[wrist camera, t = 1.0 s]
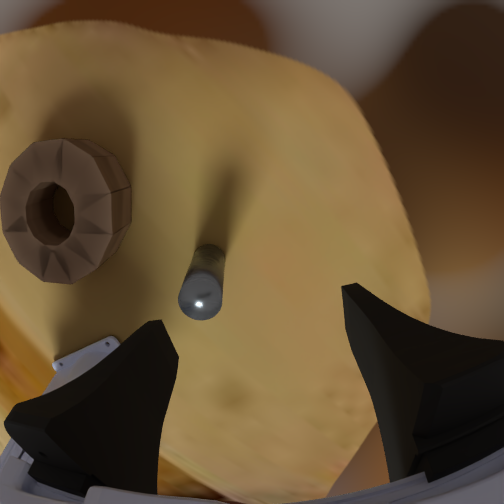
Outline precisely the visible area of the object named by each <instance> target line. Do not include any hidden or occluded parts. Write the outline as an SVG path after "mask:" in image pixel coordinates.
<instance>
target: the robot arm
mask: <svg viewBox="0 0 504 504" xmlns="http://www.w3.org/2000/svg"><path fill="white" fill-rule="evenodd" d="M341 288H342V297H343V307H344V318H345V329H346V332H347V336H348V340H349V343H350V346H351V350H352V352H353V355H354V357H355V359H356V362H357V364H358V367H359V369H360V371H361V374H362V376H363V378H364V381H365V383H366V386H367V388H368V390H369V393H370V396H371V399H372V402H373V405H374V409H375V413H376V417H377V420H378V424H379V428H380V433H381V437H382V442H383V446H384V451H385V456H386V462H387V467H388V473H389V479H390V483H387V484H384V485H380V486H377V487H373V488H369V489H366V490H361V491H357V492H352V493H348V494H343V495H338V496H333V497H328V498H322V499H315V500H309V501H301V502H293V503H284V504H504V341H501V340H491V339H481V338H474V337H469V336H465V335H460V334H455V333H452V332H448V331H445V330H442V329H439V328H436V327H433V326H430V325H428V324H425V323H423V322H421V321H419V320H416V319H414V318H412V317H410V316H408V315H406V314H404V313H402V312H401V311H399V310H397V309H395V308H393V307H392V306H390V305H389V304H387V303H385V302H384V301H382V300H381V299H379V298H378V297H376V296H375V295H373V294H372V293H371V292H369V291H368V290H366V289H365V288H364V287H362V286H361V285H359V284H358V283H353V284H349V285H344V286H341ZM107 342H108V343H109V344H107ZM178 360H179V356H178V354H177V352H176V350H175V348H174V346H173V343H172V341H171V339H170V337H169V335H168V333H167V331H166V328H165V326H164V324H163V322H162V320H154V321H148V322H147V323H145V324H144V325H143V326H141V327H140V328H139V329H138V330H136V331H135V332H134V333H133V334H132V335H131V336H130V337H128V338H127V339H126V340H125V341H124V342H123V343H122V344H120V343H119V342H118V340H117V339H116V338H115V337H114V336H108V337H106V338H104V339H102V340H100V341H98V342H95V343H93V344H91V345H89V346H87V347H85V348H82V349H80V350H78V351H76V352H74V353H72V354H69V355H67V356H65V357H63V358H61V359H58V360H56V361H54V362H53V364H52V366H53V368H54V369H55V370H56V372H57V373H56V375H55V376H54V377H53V379H52V380H51V382H50V384H49V385H48V387H47V388H46V390H45V391H44V393H43V394H42V396H39V397H36V398H33V399H30V400H27V401H24V402H21V403H17V404H16V405H15V406H14V407H13V409H12V410H11V412H10V413H9V415H8V416H7V418H6V419H5V421H4V426H5V429H6V431H7V432H8V434H9V435H10V436H11V439H10V440H9V442H8V444H7V446H6V447H5V449H4V451H3V453H2V454H1V456H0V504H227V503H223V502H219V501H214V500H205V499H196V498H184V497H172V496H162V495H157V473H158V457H159V447H160V439H161V432H162V427H163V422H164V418H165V415H166V411H167V408H168V404H169V401H170V398H171V394H172V391H173V387H174V384H175V380H176V375H177V369H178Z"/></svg>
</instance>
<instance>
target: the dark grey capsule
mask: <svg viewBox="0 0 504 504" xmlns="http://www.w3.org/2000/svg"><path fill="white" fill-rule="evenodd" d="M224 267H225V256H224V253H223V252H222V250H221V249H220V248H219V247H217V246H215V245H212V244H206V245H202V246H200V247H199V248H198V249H197V250H196V251H195V253H194V256H193V258H192V261H191V263H190V266H189V269H188V271H187V274H186V277H185V279H184V282H183V284H182V287H181V290H180V293H179V296H178V303H179V306H180V308H181V310H182V311H183V313H184V314H186V315H187V316H188V317H190V318H192V319H195V320H207V319H210V318H212V317H214V316H215V315H216V314H217V313H218V312H219V311H220V309H221V306H222V295H223V281H224Z"/></svg>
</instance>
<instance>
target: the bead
mask: <svg viewBox="0 0 504 504" xmlns="http://www.w3.org/2000/svg"><path fill="white" fill-rule="evenodd" d="M58 185H60V186H61V187H63V188H64V189H66V190H67V193H68V195H69V196H70V198H71V200H72V202H73V204H74V217H75V224H74V226H73V229H72V231H69V230H68V229H66V228H65V227H63V226H62V225H60V223H59V221H58V220H57V218H56V216H55V214H54V211H53V196H54V193H55V191H56V189H57V186H58ZM130 186H131V185H130V183H129V181H128V180H127V178H126V176H125V174H124V172H123V170H122V168H121V166H120V164H119V162H118V160H117V158H116V156H115V155H113V154H112V153H110V152H108V151H107V150H105V149H103V148H102V147H100V146H98V145H97V144H95V143H93V142H92V141H90V140H82V139H65V138H62V139H54V140H47V141H40V142H34V143H32V144H31V145H30V146H29V147H28V148H27V149H26V150H25V151H24V152H23V153H22V154H21V155H19V156H18V157H17V158H16V159H15V160H14V161H13V162H12V163H11V165H10V167H9V170H8V173H7V176H6V179H5V182H4V185H3V188H2V191H1V195H0V197H1V198H0V209H1V220H2V230H3V234H4V236H5V238H6V240H7V242H8V244H9V246H10V248H11V250H12V252H13V254H14V256H15V257H16V259H17V261H18V262H19V264H21V265H22V266H23V267H24V268H26V269H27V270H28V271H30V272H31V273H32V274H34V275H35V276H36V277H37V278H39V279H40V280H41V281H43V282H51V283H61V284H73V283H75V282H76V281H78V280H79V279H81V278H83V277H84V276H86V275H88V274H89V273H91V272H92V271H94V270H96V269H97V268H98V267H99V266H100V265H102V264H103V263H104V262H105V261H106V260H107V259H108V258H109V257H110V256H112V255H113V254H114V253H115V252H116V251H117V250H118V248H119V246H120V244H121V242H122V240H123V238H124V236H125V234H126V232H127V230H128V228H129V226H130V224H131V187H130Z"/></svg>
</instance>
